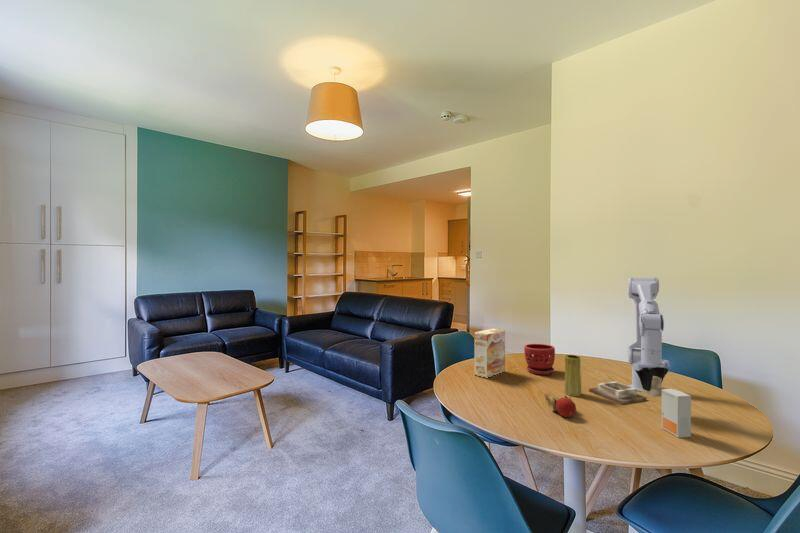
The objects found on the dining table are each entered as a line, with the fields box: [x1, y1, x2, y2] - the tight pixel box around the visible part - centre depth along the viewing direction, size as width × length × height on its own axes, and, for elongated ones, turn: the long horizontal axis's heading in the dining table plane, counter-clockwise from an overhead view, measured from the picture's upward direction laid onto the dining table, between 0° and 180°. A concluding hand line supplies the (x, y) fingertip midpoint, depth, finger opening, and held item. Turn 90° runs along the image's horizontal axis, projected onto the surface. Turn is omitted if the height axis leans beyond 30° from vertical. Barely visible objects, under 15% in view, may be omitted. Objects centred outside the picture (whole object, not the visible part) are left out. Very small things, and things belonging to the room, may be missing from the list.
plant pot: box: [523, 343, 556, 376], centre depth 165 cm, size 13×13×12 cm
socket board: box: [588, 380, 647, 405], centre depth 135 cm, size 12×14×4 cm
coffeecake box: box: [473, 328, 506, 379], centre depth 162 cm, size 15×7×20 cm, turn 132°
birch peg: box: [640, 376, 663, 398], centre depth 121 cm, size 4×4×6 cm
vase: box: [563, 354, 582, 397], centre depth 137 cm, size 6×6×14 cm
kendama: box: [544, 390, 577, 418], centre depth 123 cm, size 8×6×18 cm
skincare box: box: [660, 388, 692, 439], centre depth 105 cm, size 6×4×12 cm
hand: (651, 389), depth 121 cm, fingers closed on birch peg, 4 cm apart
